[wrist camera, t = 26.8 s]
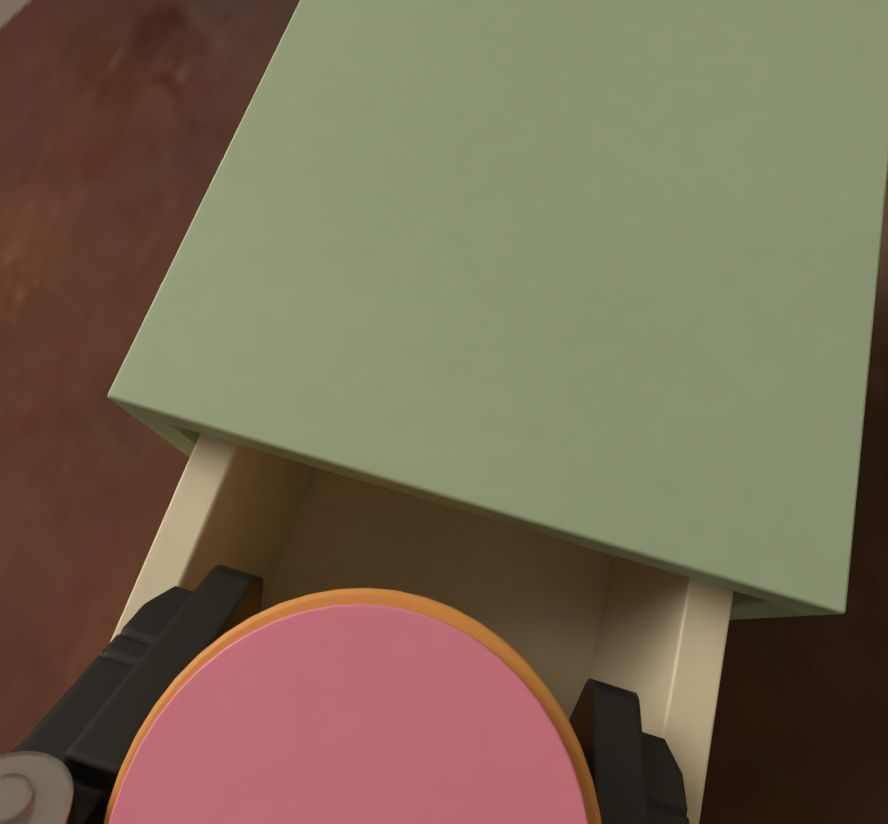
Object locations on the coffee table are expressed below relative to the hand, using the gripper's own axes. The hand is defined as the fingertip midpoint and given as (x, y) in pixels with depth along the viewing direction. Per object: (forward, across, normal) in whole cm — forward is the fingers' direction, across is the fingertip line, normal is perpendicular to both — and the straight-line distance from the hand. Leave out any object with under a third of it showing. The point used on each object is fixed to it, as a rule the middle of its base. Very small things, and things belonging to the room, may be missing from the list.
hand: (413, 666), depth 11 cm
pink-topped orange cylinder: (+2, 0, -4) cm, 5 cm away
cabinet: (+13, 0, +1) cm, 13 cm away
